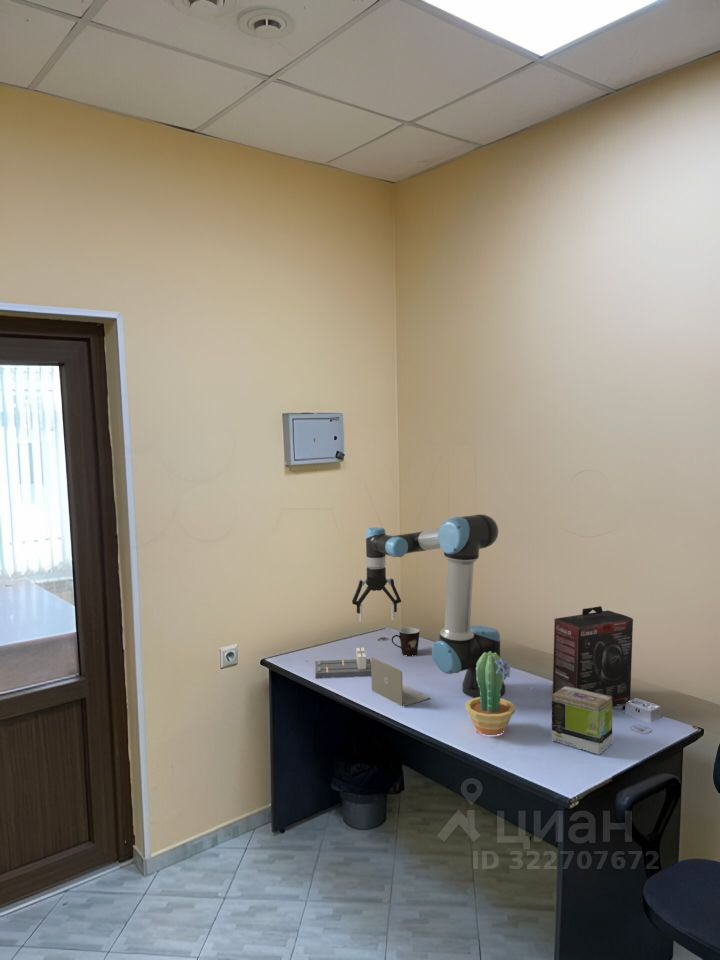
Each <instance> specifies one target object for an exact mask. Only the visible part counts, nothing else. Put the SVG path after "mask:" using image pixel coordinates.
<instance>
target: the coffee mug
mask: <svg viewBox="0 0 720 960" xmlns="http://www.w3.org/2000/svg"><path fill="white" fill-rule="evenodd" d="M398 632H399V633H398V634H394V635H392V637H391V643H392V644H393V645H394V646H395V647H397V648H399V649H400V650H401V655H402V654H403V655H402V656H404V655H407V656H406V657H413V656H412V655H416V654H417V655H418V651H419V641H420V633H421V632H420V629H419V628H416V627H403V628H400V629H399V630H398ZM396 637H397V638H399V639H400V640H399V641H400V646H399V645H398V644H396V643H395V642H394V638H396ZM417 655H416V656H417Z"/></svg>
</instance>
